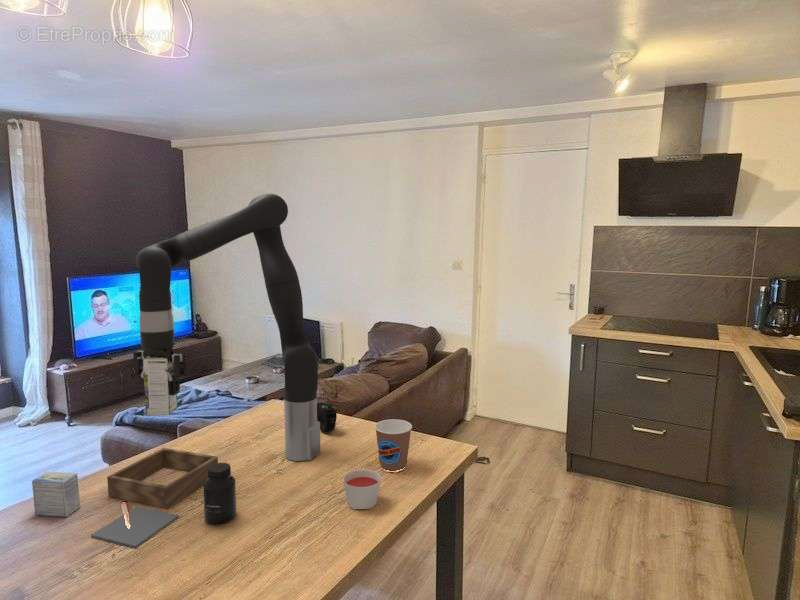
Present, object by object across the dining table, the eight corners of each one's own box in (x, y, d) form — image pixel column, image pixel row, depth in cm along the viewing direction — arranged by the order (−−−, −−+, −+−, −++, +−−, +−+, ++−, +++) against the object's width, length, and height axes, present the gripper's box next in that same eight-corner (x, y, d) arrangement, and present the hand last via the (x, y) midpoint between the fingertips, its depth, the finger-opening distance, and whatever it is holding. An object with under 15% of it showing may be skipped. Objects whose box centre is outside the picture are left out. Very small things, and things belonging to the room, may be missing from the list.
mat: (178, 517, 112) (178, 515, 112) (135, 548, 101) (135, 545, 101) (137, 508, 116) (137, 506, 116) (91, 537, 105) (90, 534, 105)
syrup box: (154, 408, 127) (151, 353, 125) (178, 407, 128) (175, 352, 126) (145, 416, 122) (141, 358, 120) (170, 415, 122) (166, 358, 120)
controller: (326, 438, 157) (326, 407, 156) (311, 425, 168) (311, 397, 166) (339, 435, 160) (338, 405, 158) (323, 423, 170) (323, 395, 169)
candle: (364, 489, 125) (364, 465, 124) (388, 503, 119) (388, 478, 118) (335, 502, 119) (335, 477, 118) (359, 517, 112) (359, 491, 112)
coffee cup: (368, 472, 135) (368, 429, 133) (383, 456, 144) (383, 417, 143) (403, 479, 131) (403, 435, 129) (417, 462, 140) (417, 422, 139)
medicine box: (81, 507, 116) (78, 472, 115) (66, 518, 112) (63, 481, 111) (50, 505, 117) (47, 470, 116) (34, 516, 113) (31, 480, 112)
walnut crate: (218, 474, 133) (217, 456, 132) (167, 508, 116) (166, 488, 115) (164, 464, 138) (163, 447, 138) (108, 496, 121) (107, 476, 121)
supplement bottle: (206, 529, 108) (203, 476, 106) (202, 513, 114) (200, 464, 112) (239, 521, 111) (237, 470, 109) (234, 506, 117) (232, 458, 116)
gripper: (191, 327, 123) (195, 391, 125) (146, 324, 128) (150, 386, 130) (169, 332, 116) (173, 400, 118) (121, 329, 121) (126, 394, 123)
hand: (161, 393), depth 124 cm, fingers closed on syrup box, 7 cm apart
